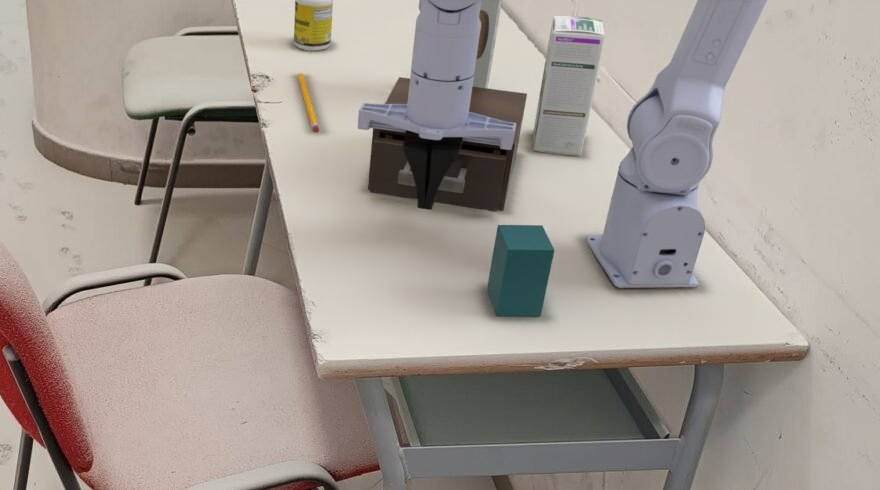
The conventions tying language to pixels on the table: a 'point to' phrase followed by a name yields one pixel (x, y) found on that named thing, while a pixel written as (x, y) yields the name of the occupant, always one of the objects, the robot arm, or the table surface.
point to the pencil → (308, 103)
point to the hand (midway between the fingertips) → (426, 204)
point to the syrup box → (568, 84)
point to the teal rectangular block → (519, 270)
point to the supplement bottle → (313, 24)
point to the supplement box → (486, 41)
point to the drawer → (463, 184)
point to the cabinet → (482, 103)
